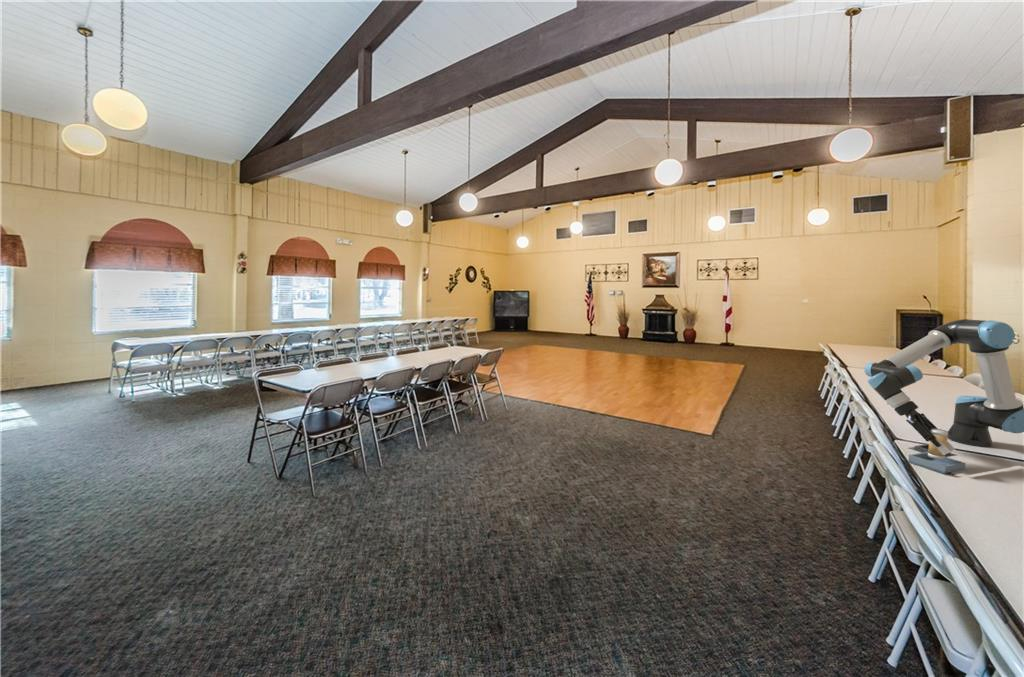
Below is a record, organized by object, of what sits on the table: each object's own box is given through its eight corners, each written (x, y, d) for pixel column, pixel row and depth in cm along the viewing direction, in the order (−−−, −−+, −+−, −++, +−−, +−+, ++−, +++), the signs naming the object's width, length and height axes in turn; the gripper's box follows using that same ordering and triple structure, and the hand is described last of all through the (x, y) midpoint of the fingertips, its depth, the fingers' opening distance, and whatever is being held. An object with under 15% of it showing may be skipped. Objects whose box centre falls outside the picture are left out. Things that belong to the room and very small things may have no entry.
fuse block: (924, 447, 194) (925, 442, 194) (957, 457, 183) (958, 451, 182) (907, 450, 191) (907, 445, 191) (939, 460, 179) (940, 454, 179)
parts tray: (927, 459, 180) (928, 451, 180) (964, 471, 169) (965, 463, 168) (908, 462, 177) (909, 454, 177) (944, 474, 165) (945, 466, 165)
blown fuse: (932, 454, 176) (936, 428, 174) (947, 459, 171) (951, 431, 169) (924, 455, 174) (928, 429, 173) (939, 460, 169) (943, 433, 168)
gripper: (901, 405, 188) (947, 451, 176) (885, 411, 179) (932, 460, 167) (918, 397, 183) (966, 444, 171) (902, 402, 174) (952, 452, 162)
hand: (949, 452), depth 169 cm, fingers closed on blown fuse, 5 cm apart
